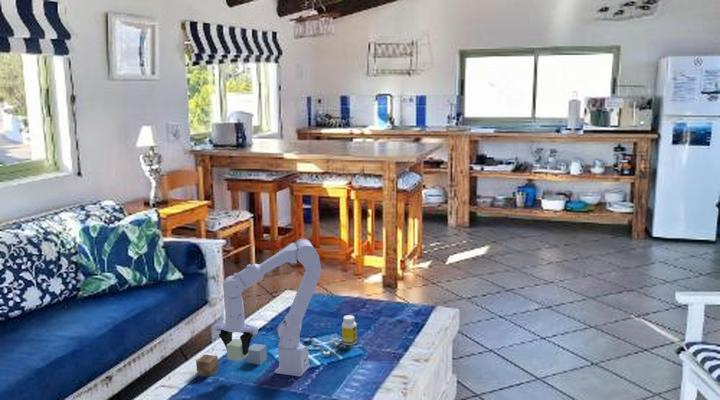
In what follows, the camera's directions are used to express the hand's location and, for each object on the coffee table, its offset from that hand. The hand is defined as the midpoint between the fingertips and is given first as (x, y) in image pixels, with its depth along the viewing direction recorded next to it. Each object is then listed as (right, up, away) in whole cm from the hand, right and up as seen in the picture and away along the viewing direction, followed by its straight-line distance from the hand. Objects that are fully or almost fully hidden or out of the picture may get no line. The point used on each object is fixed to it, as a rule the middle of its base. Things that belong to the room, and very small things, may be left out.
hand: (238, 352), depth 200 cm
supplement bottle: (+36, -3, +25) cm, 44 cm away
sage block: (0, -1, 0) cm, 2 cm away
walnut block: (-11, -8, +6) cm, 15 cm away
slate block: (+4, -6, +13) cm, 15 cm away
